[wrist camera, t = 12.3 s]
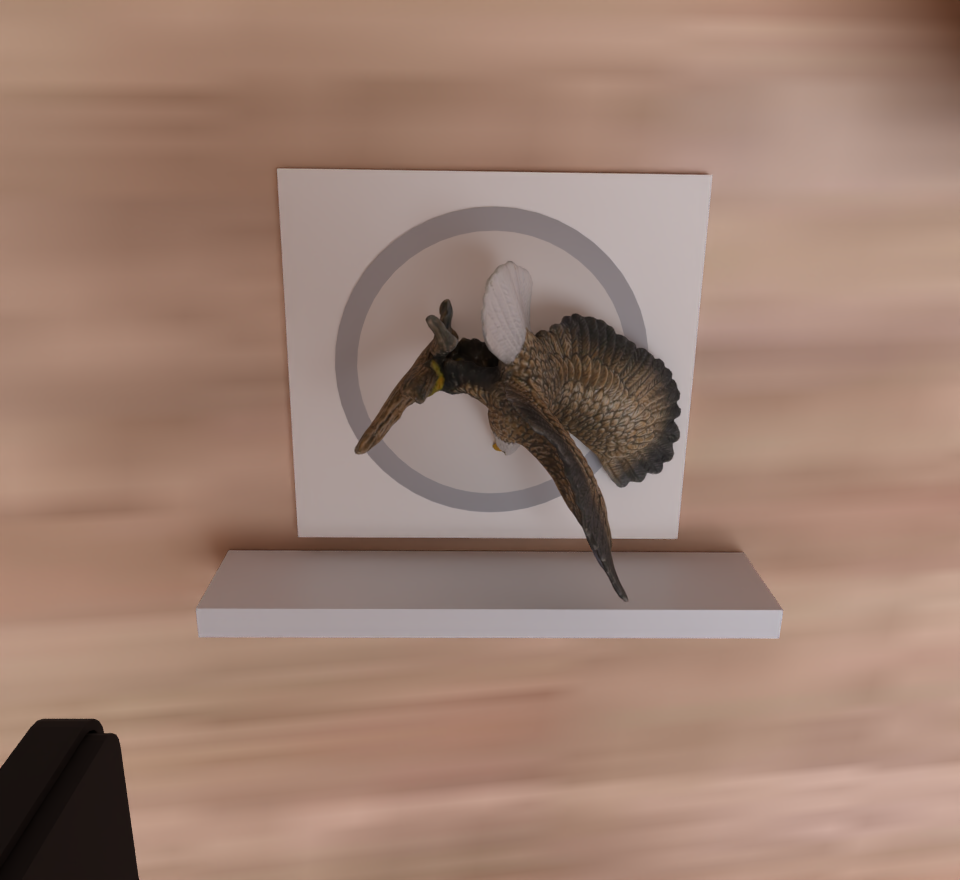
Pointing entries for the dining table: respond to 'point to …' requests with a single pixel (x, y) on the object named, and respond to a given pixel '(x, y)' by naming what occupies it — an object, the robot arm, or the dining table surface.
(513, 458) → the pad
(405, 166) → the dining table surface
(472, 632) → the acrylic wall
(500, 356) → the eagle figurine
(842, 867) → the dining table surface
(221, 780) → the dining table surface
